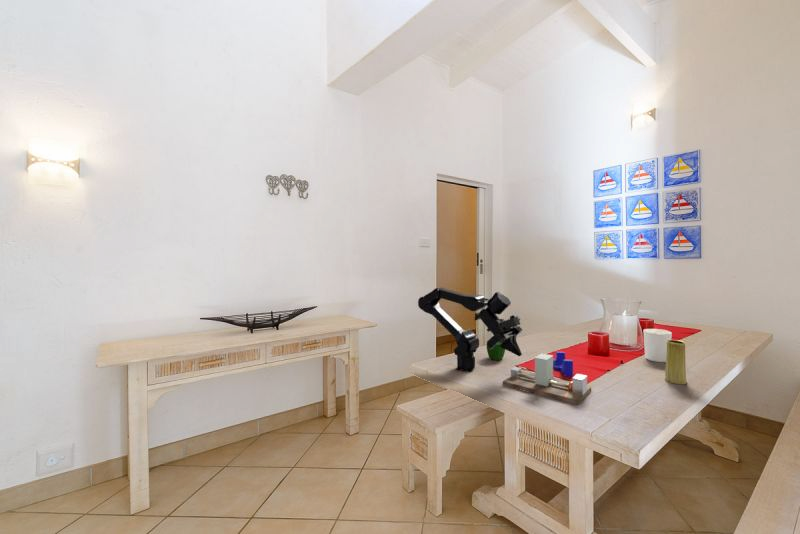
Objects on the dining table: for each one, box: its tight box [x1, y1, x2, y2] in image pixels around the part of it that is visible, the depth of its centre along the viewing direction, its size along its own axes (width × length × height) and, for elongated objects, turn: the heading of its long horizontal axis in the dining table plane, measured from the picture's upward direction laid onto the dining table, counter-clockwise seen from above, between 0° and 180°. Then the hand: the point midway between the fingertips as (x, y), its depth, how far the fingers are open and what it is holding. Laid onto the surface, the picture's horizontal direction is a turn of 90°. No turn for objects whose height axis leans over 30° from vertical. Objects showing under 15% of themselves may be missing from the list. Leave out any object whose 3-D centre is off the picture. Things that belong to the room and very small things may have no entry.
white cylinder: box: [642, 328, 673, 363], centre depth 148 cm, size 10×10×12 cm
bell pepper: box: [486, 342, 506, 361], centre depth 155 cm, size 8×8×10 cm
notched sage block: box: [534, 353, 554, 386], centre depth 121 cm, size 4×6×9 cm, turn 137°
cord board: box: [502, 370, 592, 406], centre depth 121 cm, size 25×14×2 cm, turn 47°
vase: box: [664, 339, 687, 385], centre depth 123 cm, size 6×6×14 cm
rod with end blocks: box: [510, 366, 588, 396], centre depth 121 cm, size 24×5×6 cm, turn 47°
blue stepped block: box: [553, 351, 574, 377], centre depth 137 cm, size 12×4×6 cm, turn 170°
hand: (520, 355), depth 127 cm, fingers closed
